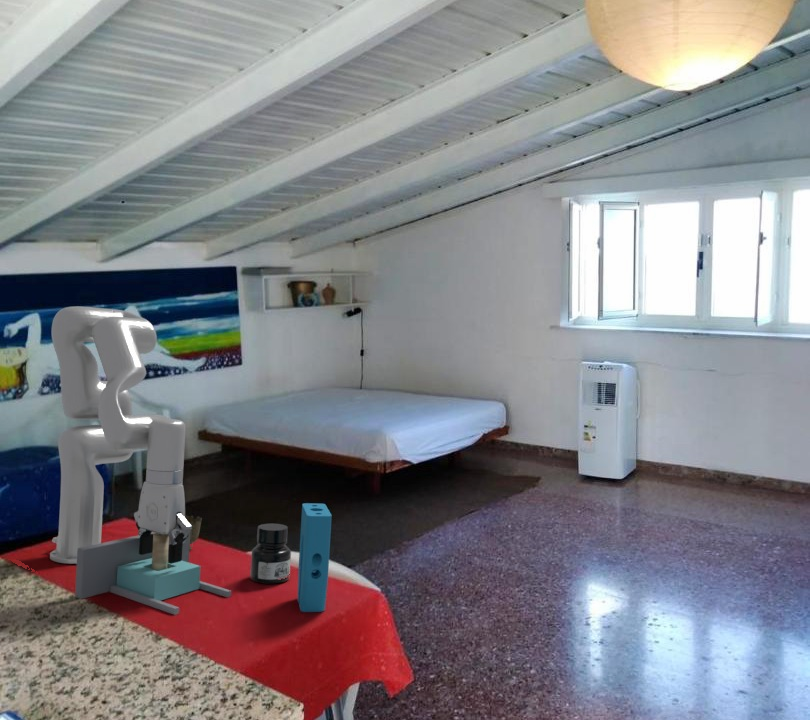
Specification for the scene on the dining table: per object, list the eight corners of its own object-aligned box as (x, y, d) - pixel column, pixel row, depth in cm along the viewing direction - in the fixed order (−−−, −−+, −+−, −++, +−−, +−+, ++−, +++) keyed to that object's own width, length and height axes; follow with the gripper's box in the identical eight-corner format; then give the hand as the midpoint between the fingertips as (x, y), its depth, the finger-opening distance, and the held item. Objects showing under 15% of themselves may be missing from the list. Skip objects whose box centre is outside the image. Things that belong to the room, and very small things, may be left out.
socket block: (116, 589, 160) (117, 566, 160) (162, 576, 171) (163, 555, 171) (153, 602, 154) (155, 578, 154) (199, 588, 164) (200, 566, 164)
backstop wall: (74, 596, 155) (77, 548, 155) (182, 567, 179) (184, 525, 179) (147, 623, 143) (150, 571, 143) (252, 589, 167) (255, 543, 166)
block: (326, 614, 154) (332, 516, 153) (301, 615, 153) (307, 516, 152) (319, 594, 165) (324, 503, 165) (296, 595, 164) (301, 503, 164)
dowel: (147, 590, 162) (150, 534, 162) (159, 586, 165) (162, 531, 164) (157, 593, 160) (160, 536, 160) (169, 589, 163) (172, 534, 163)
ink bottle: (261, 587, 168) (264, 533, 168) (241, 577, 175) (244, 525, 174) (298, 580, 174) (301, 528, 174) (277, 570, 181) (280, 520, 181)
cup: (163, 550, 192) (165, 518, 192) (182, 544, 199) (183, 513, 199) (187, 554, 190) (189, 523, 189) (205, 548, 196) (207, 517, 196)
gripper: (123, 473, 163) (119, 553, 164) (178, 485, 154) (173, 570, 154) (152, 469, 170) (147, 546, 170) (206, 481, 160) (201, 562, 161)
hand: (160, 557), depth 162 cm, fingers open, 8 cm apart
